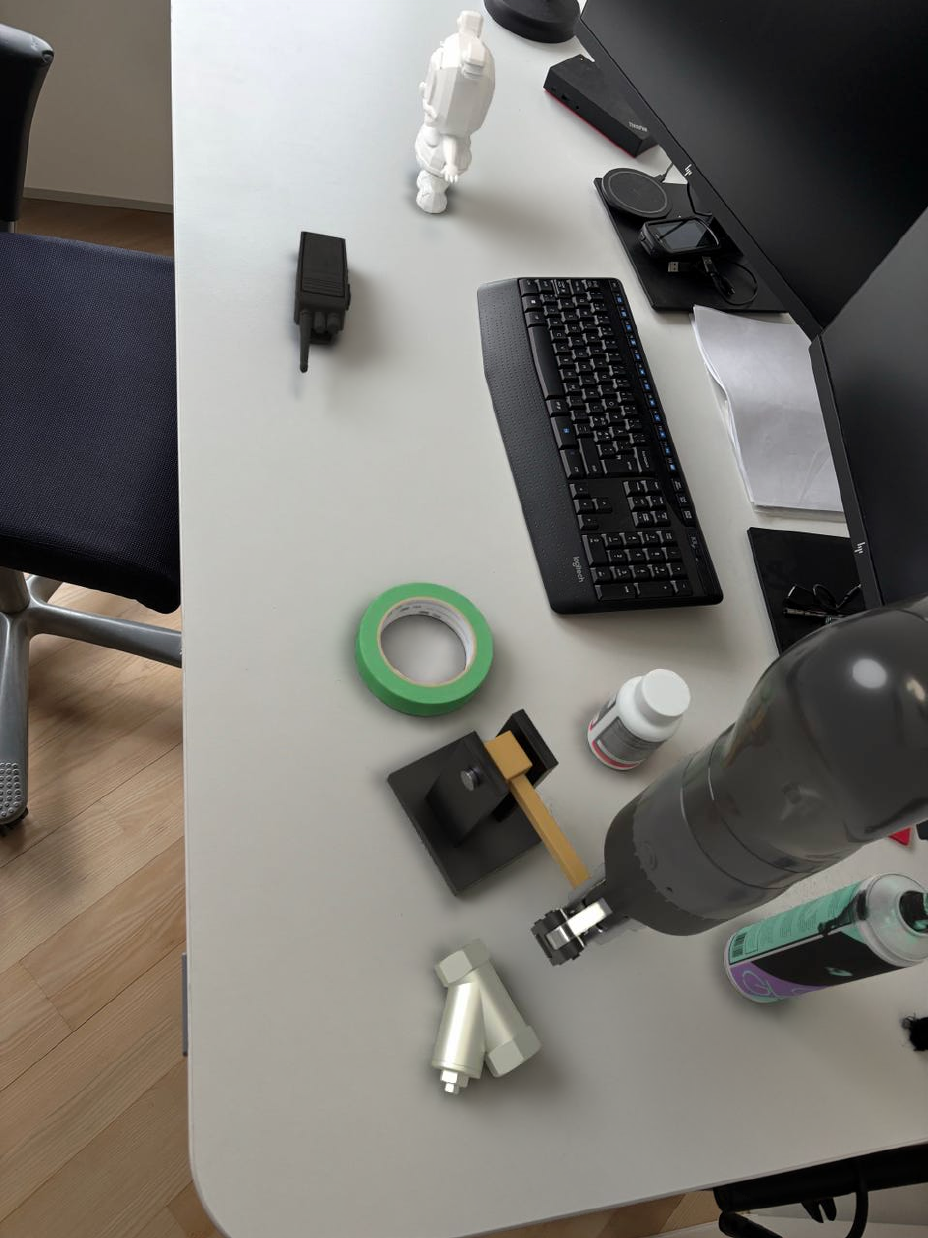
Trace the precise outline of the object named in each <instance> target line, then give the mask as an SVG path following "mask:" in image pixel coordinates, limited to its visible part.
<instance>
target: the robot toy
mask: <svg viewBox="0 0 928 1238" xmlns="http://www.w3.org/2000/svg"><path fill="white" fill-rule="evenodd" d="M483 25H484V16H483V14H481V13H480V12H476V11H473V10H469V9H465V10H461V13H460V16H458V17H457V19H456V26H457V28H458V30H457V31H456V32H454V33H453V34H451V35H450V36H448V37H446V38H445V40H444V41H442V40H440V42H439V48H438V49H437V50H435V51H433V53H432V55H431V57H430V60H429V65H428V69H427V72H426V79H425V81H421V83H420V84H419V86H418V91H419V92H418V93H419V94H420V96H421V97H422V107H423V111H424V121H423V124H422V126H421V127H420V130H419V131H418V133H417V136H416V139H415V142H414V154H415V160H416V162H417V163H418V165H419V167H420V168H421V169H422V170H420V172H419V174H418V177H417V179H416V186H417V189H418V190H419V191H418V193H417V195H416V204H417V206H418V207H420V208H421V209H422V211H424V212H426V213H429V214H441V213H442V212H444V211H445V210H446V208H447V204H448V198H447V195H446V194H445V192H446V190H447V188H448V187H449V186H450V185H451V184H454V183H456V184H458V183H459V181H460V176H461V175H463V174H465V173H466V172H467V171H468V169H469V167H470V165H471V163H472V160H473V155H472V151H471V145H472V138H471V136H472V135H473V134H475V133H476V132H477V131H478V130H480V129H481V128H482V127H483V124H484V122H485V120H486V117H487V116H488V112H489V110H490V107H491V104H492V102H493V98H494V95H495V90H496V66H495V62H496V61H495V59H494V58H495V57H493V54H492V52H491V50H490V48H489V47H488V45H487V44H486V43H485V42H484V41H483V40H482V39H481V37H480V36H482V31H483Z"/></svg>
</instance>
